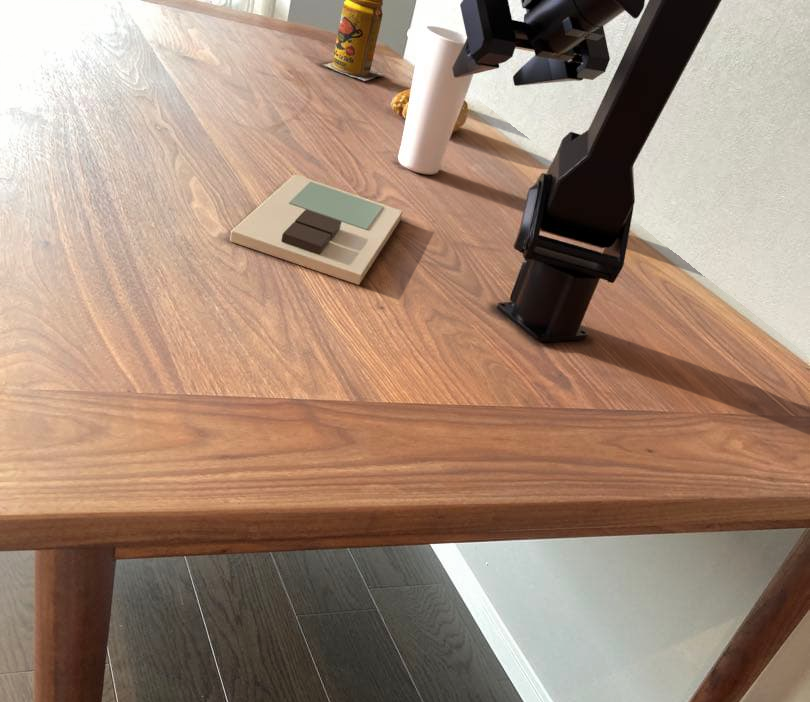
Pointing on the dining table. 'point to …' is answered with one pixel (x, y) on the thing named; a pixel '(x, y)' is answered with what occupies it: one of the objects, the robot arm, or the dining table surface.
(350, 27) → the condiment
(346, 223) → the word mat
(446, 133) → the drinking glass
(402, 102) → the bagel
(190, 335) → the dining table surface
